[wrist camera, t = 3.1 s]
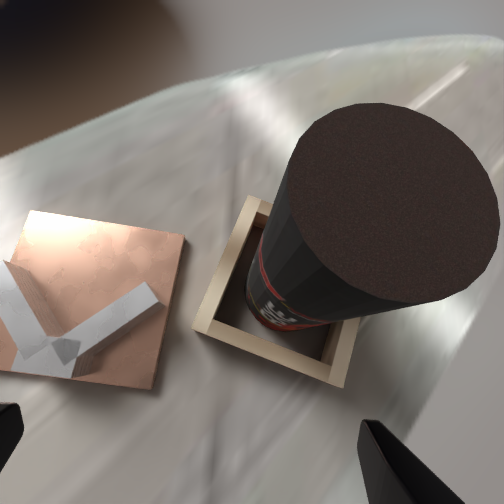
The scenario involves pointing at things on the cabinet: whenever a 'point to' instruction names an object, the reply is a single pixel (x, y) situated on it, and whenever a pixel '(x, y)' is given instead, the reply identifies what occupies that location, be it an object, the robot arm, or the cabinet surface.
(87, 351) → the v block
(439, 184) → the deodorant
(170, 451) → the cabinet surface
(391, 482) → the robot arm
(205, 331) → the beige square frame
